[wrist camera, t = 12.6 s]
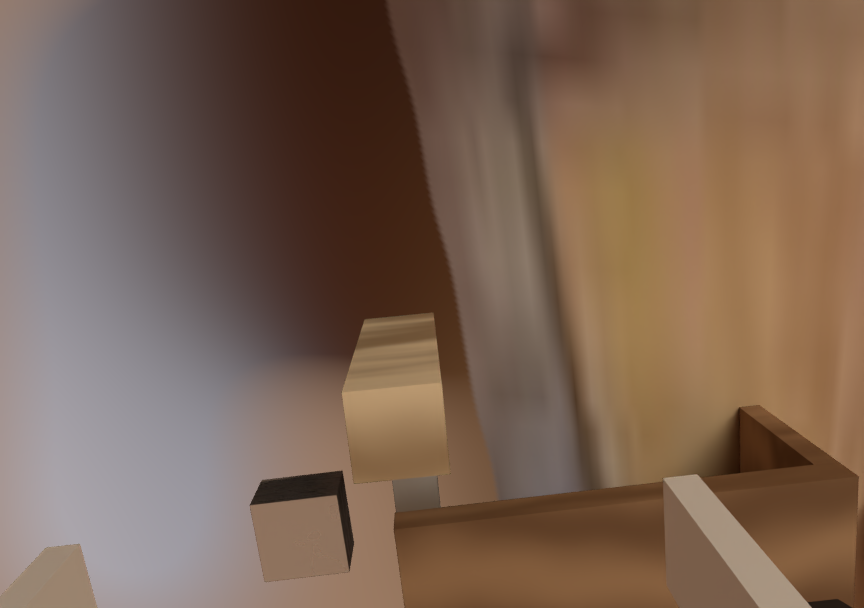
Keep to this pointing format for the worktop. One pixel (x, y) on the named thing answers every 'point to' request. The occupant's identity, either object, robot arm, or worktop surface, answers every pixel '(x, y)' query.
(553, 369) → the worktop surface
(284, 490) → the brown square block
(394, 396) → the tan wood-grain block
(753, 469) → the brown wooden stand
